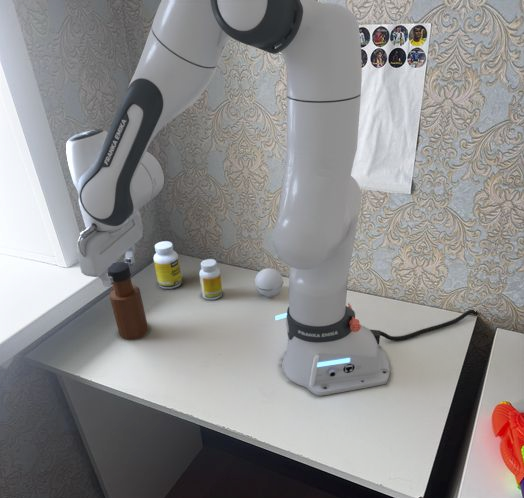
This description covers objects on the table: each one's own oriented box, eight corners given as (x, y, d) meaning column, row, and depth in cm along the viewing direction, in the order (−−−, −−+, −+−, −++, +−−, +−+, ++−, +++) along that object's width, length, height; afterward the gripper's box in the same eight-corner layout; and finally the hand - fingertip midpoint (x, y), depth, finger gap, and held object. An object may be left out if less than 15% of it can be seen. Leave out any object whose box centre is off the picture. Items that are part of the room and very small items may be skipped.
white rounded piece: (249, 296, 130) (247, 271, 126) (267, 284, 135) (266, 260, 130) (280, 308, 125) (279, 283, 121) (297, 295, 130) (297, 270, 125)
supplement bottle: (198, 294, 132) (193, 262, 126) (214, 287, 135) (211, 255, 129) (209, 302, 129) (205, 269, 123) (226, 295, 131) (223, 262, 125)
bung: (134, 277, 114) (130, 261, 111) (130, 288, 110) (126, 271, 108) (113, 278, 114) (109, 262, 111) (108, 289, 110) (104, 273, 108)
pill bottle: (171, 292, 134) (164, 252, 127) (153, 286, 137) (145, 247, 130) (187, 281, 138) (181, 242, 131) (169, 275, 141) (162, 237, 134)
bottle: (150, 322, 123) (138, 268, 114) (145, 339, 117) (132, 283, 108) (122, 324, 123) (108, 269, 114) (116, 340, 117) (101, 285, 108)
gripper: (90, 238, 94) (107, 300, 102) (142, 197, 109) (153, 255, 117) (62, 235, 95) (81, 297, 104) (116, 195, 110) (129, 252, 119)
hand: (120, 274), depth 111 cm, fingers open, 8 cm apart
